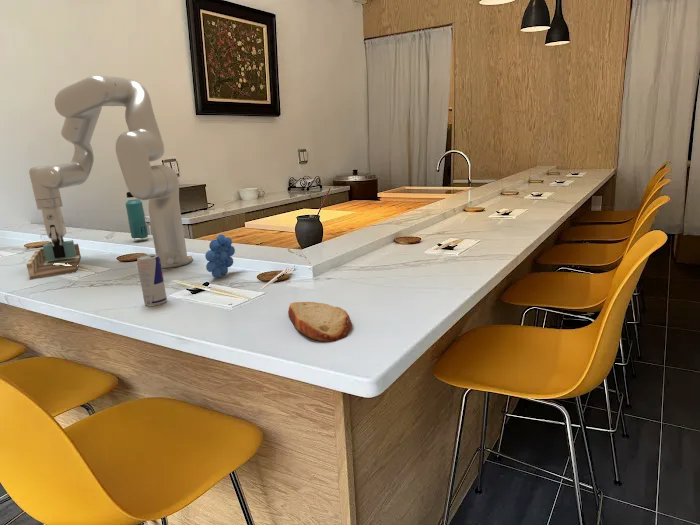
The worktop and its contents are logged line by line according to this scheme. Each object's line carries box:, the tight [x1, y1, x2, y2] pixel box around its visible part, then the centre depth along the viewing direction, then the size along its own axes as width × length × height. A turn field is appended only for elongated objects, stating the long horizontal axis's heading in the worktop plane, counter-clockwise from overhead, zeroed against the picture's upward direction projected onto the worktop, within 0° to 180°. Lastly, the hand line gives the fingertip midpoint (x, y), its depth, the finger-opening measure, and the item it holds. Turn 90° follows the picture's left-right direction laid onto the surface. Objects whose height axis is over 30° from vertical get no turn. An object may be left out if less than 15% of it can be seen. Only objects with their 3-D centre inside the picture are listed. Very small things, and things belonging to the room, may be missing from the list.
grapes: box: [205, 233, 236, 279], centre depth 149 cm, size 12×7×12 cm, turn 152°
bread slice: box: [287, 301, 353, 343], centre depth 109 cm, size 18×18×4 cm
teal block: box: [42, 239, 76, 261], centre depth 178 cm, size 9×4×5 cm, turn 117°
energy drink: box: [136, 253, 168, 306], centre depth 129 cm, size 5×5×12 cm
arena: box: [26, 243, 82, 280], centre depth 174 cm, size 24×13×5 cm, turn 24°
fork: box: [259, 267, 295, 291], centre depth 144 cm, size 3×20×2 cm, turn 161°
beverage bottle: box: [124, 191, 149, 239], centre depth 206 cm, size 6×7×20 cm
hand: (60, 255), depth 178 cm, fingers closed on teal block, 4 cm apart
